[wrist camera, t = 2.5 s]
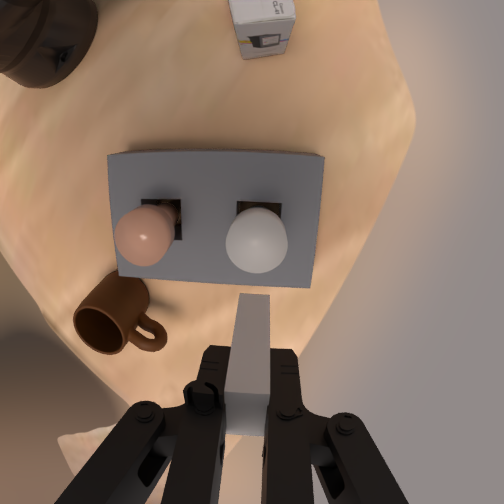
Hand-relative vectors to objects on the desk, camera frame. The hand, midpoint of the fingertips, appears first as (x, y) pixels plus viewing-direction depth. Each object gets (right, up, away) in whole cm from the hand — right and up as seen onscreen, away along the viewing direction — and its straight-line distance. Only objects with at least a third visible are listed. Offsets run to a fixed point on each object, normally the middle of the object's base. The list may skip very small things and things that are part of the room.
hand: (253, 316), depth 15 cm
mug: (-16, -3, +25) cm, 29 cm away
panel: (-4, +8, +19) cm, 21 cm away
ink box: (+1, +28, +11) cm, 31 cm away
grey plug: (+1, +7, +16) cm, 17 cm away
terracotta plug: (-9, +7, +16) cm, 20 cm away
